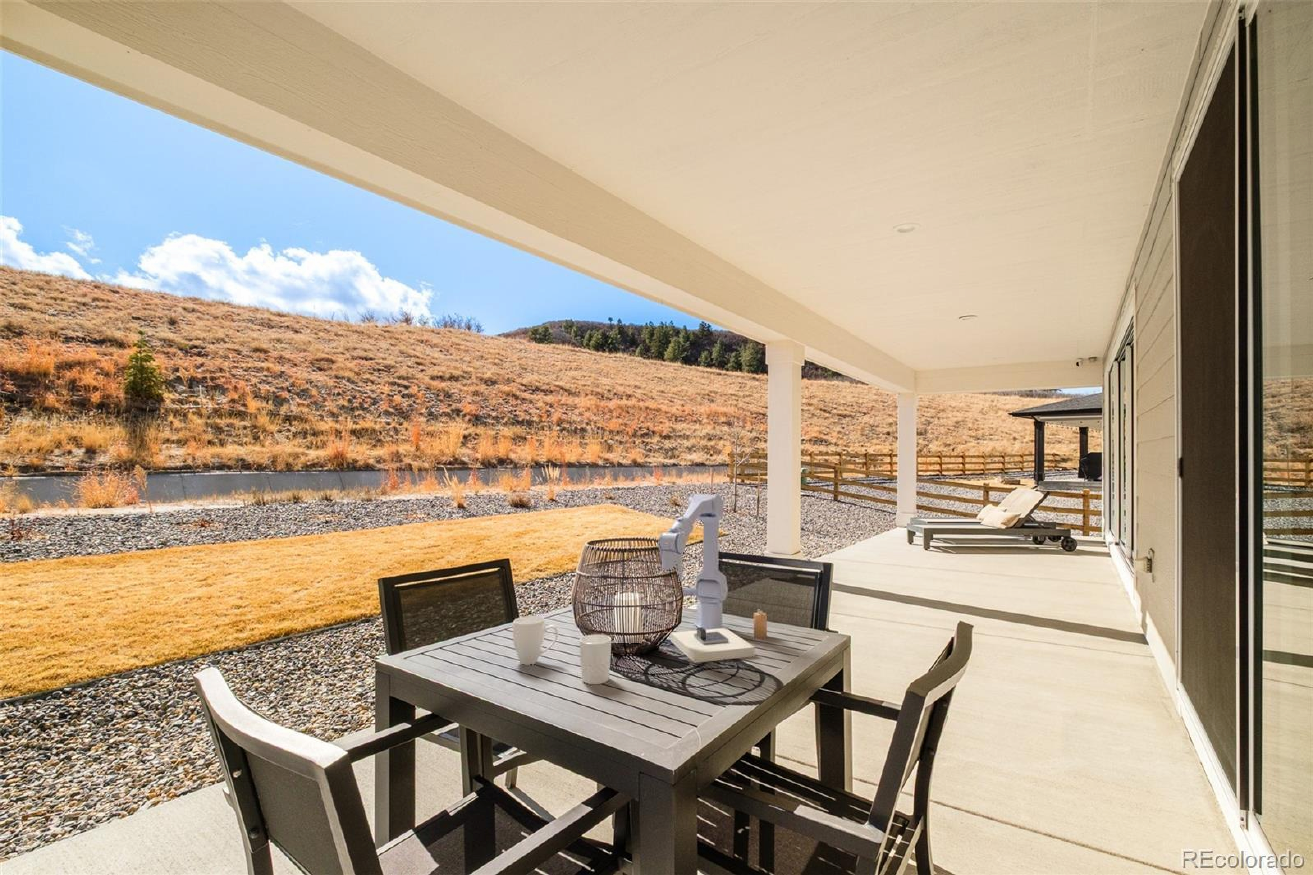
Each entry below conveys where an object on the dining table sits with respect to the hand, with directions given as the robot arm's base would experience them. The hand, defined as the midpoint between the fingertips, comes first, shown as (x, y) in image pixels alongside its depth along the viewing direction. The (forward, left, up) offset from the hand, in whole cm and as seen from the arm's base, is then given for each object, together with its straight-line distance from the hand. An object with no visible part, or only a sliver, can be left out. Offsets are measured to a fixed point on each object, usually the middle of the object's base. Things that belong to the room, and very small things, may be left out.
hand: (671, 622), depth 169 cm
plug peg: (-6, +31, -8) cm, 33 cm away
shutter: (0, +12, -6) cm, 13 cm away
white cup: (+14, -25, -9) cm, 30 cm away
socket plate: (0, +12, -8) cm, 15 cm away
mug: (-3, -38, -9) cm, 39 cm away
